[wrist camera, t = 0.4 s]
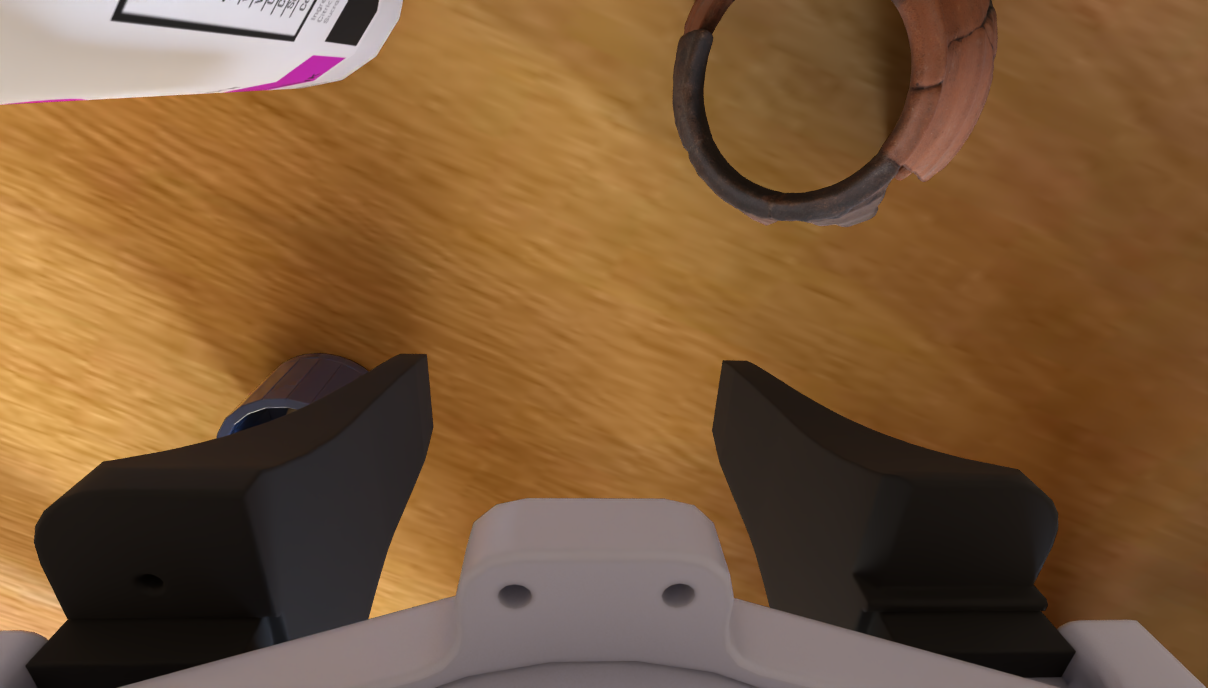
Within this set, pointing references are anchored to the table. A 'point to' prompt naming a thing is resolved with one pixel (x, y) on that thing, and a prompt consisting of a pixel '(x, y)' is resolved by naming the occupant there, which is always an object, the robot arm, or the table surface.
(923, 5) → the pottery mug
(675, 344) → the table surface
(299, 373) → the cup
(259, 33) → the supplement can
